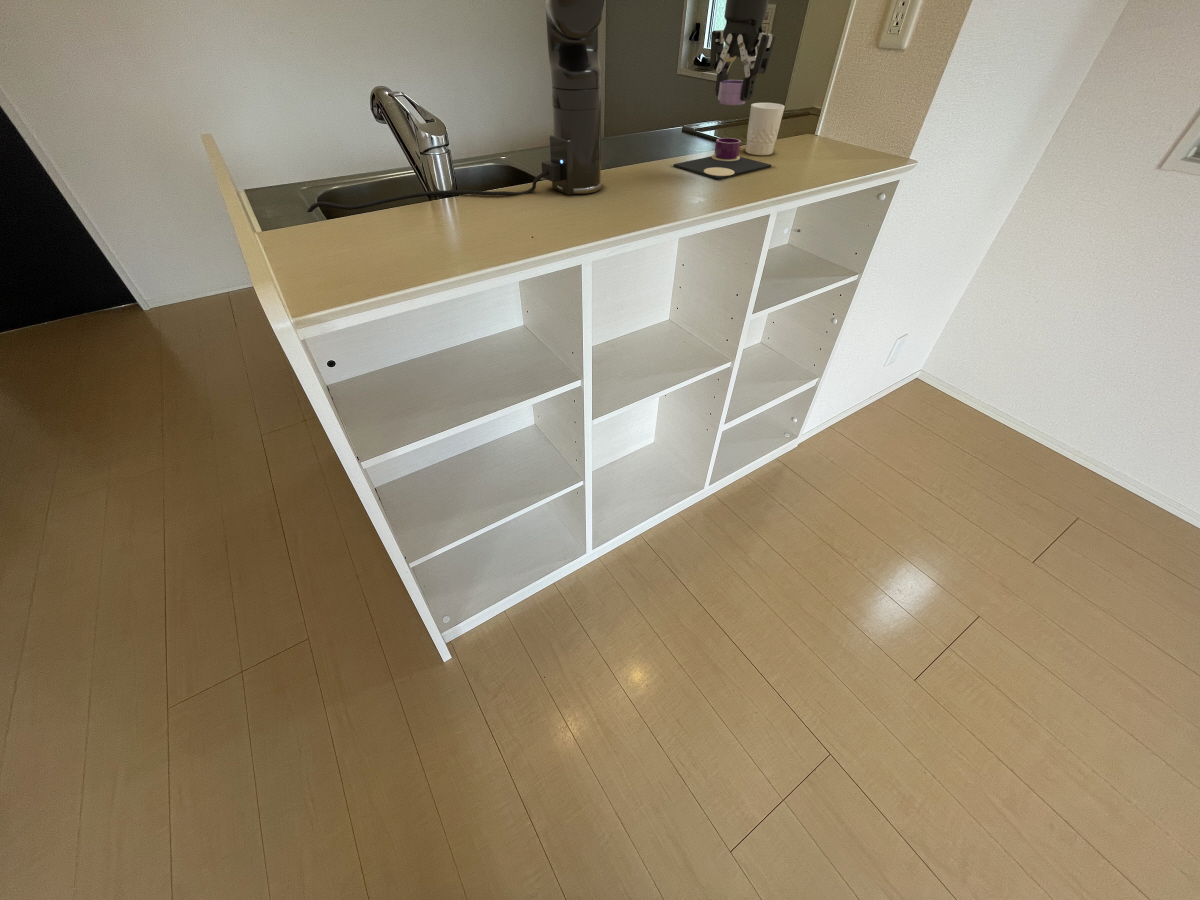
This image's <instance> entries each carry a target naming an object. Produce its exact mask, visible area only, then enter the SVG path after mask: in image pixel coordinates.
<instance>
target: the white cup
mask: <svg viewBox="0 0 1200 900" xmlns="http://www.w3.org/2000/svg"><path fill="white" fill-rule="evenodd" d="M785 107H786V106H785V105H784V104H781V103H775V102H755V103H751V104H750V111H749V116H748V124H747V134H746V142H745V143H746V144H745V152H746V154H749V155H753V156H769V155H772V154H773V153H774V149H775V145H776V141H777V139H778V134H779V132H780V128H781V123H782V119H783V116H784V111H785Z"/></svg>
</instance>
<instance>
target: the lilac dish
mask: <svg viewBox="0 0 1200 900" xmlns="http://www.w3.org/2000/svg"><path fill="white" fill-rule="evenodd" d="M742 86H743V80H742V79H728V80H723V81H720V87H719V94H718V96H717V100H718V101H719V102H718V103H719V104H722V105H727V106H742V105H745V103H746V101H741V92H742Z"/></svg>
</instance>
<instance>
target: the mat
mask: <svg viewBox="0 0 1200 900" xmlns="http://www.w3.org/2000/svg"><path fill="white" fill-rule="evenodd" d="M673 167H674V168H677V169H681V170H684V171H686V172H691V173H693V174H696V175H701V176H703V177H707V178H710V179H713V180H717V181H719V180H724V179H728V178H732V177H736V176H739V175H744V174H749V173H752V172H756V171H761V170H765V169H769V168H771V167H772V164H770V163H766V162H761V161H758V160H754V159H751V158H746V157H743V156H740V155H739V156H737V158H736V159H731V160H725V159H719V158H716V155H714V154H712V155H710V156H705V157H701V158H696V159H691V160H686V161H683V162H678V163H673Z"/></svg>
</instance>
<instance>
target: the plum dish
mask: <svg viewBox="0 0 1200 900" xmlns="http://www.w3.org/2000/svg"><path fill="white" fill-rule="evenodd" d="M741 144H742V140H740V139H739V138H733V137H719V138H717V139H716V140H715V144H714V146H715V147H714V154H713V155H716V158H719V159H725V160H731V159H736V158H737V156H739V157H740V150H741Z"/></svg>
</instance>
